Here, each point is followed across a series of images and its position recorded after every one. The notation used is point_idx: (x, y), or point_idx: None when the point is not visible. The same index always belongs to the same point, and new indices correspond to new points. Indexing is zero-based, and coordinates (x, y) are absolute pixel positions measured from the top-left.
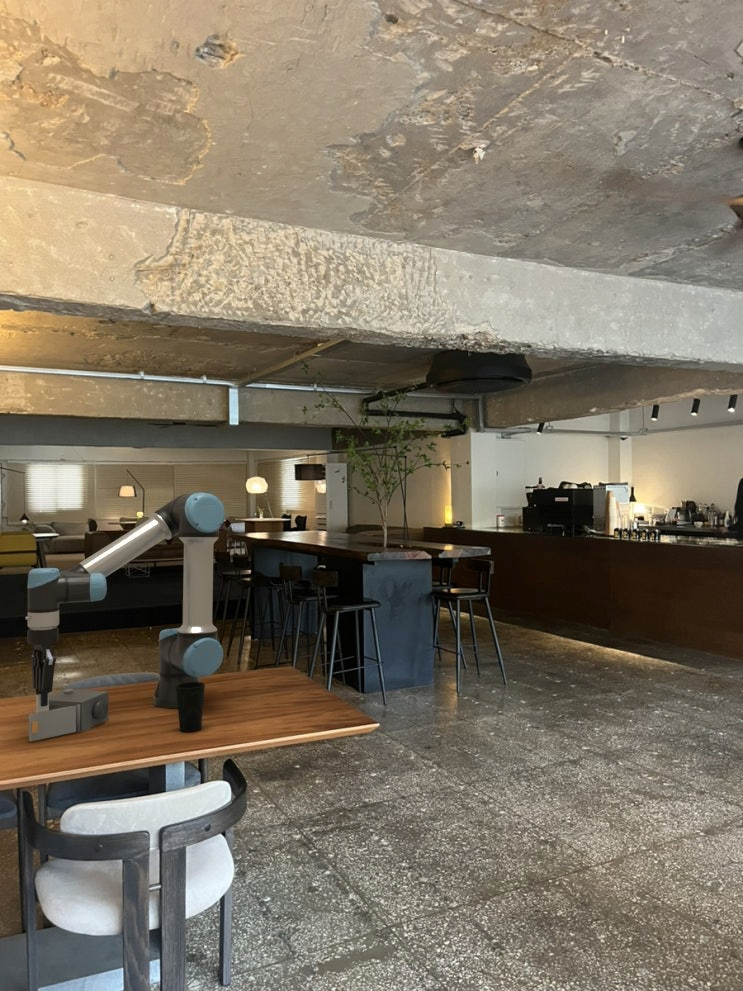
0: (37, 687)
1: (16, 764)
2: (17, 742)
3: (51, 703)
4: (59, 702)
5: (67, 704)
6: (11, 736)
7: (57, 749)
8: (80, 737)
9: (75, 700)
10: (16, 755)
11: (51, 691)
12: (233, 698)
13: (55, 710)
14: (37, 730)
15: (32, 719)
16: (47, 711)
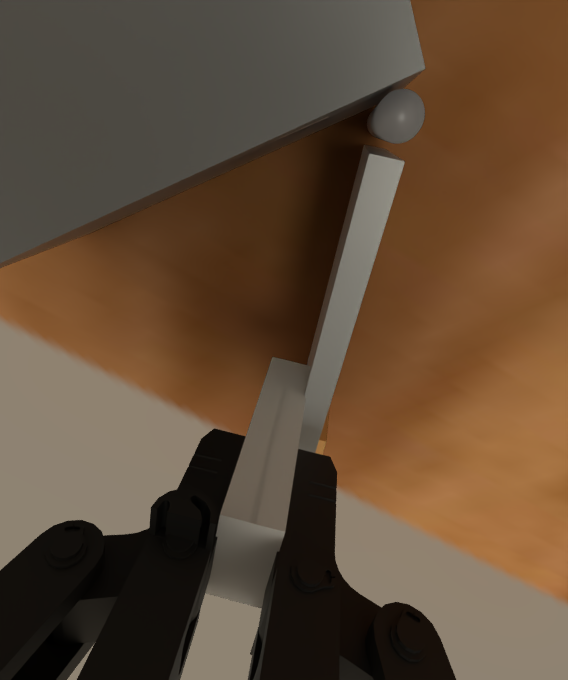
0: (182, 660)
1: (530, 560)
2: (245, 409)
3: (67, 234)
4: (135, 201)
5: (229, 159)
6: (125, 371)
7: (544, 389)
8: (489, 181)
9: (254, 60)
10: (423, 505)
11: (419, 615)
12: None
13: (341, 358)
14: (329, 407)
15: None
16: (325, 417)
